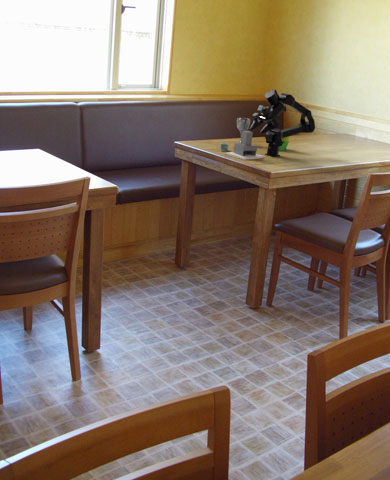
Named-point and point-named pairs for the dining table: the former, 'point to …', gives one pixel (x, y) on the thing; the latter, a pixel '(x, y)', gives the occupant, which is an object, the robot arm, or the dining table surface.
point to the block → (224, 147)
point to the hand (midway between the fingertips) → (255, 131)
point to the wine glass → (242, 125)
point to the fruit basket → (284, 143)
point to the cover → (245, 144)
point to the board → (244, 156)
